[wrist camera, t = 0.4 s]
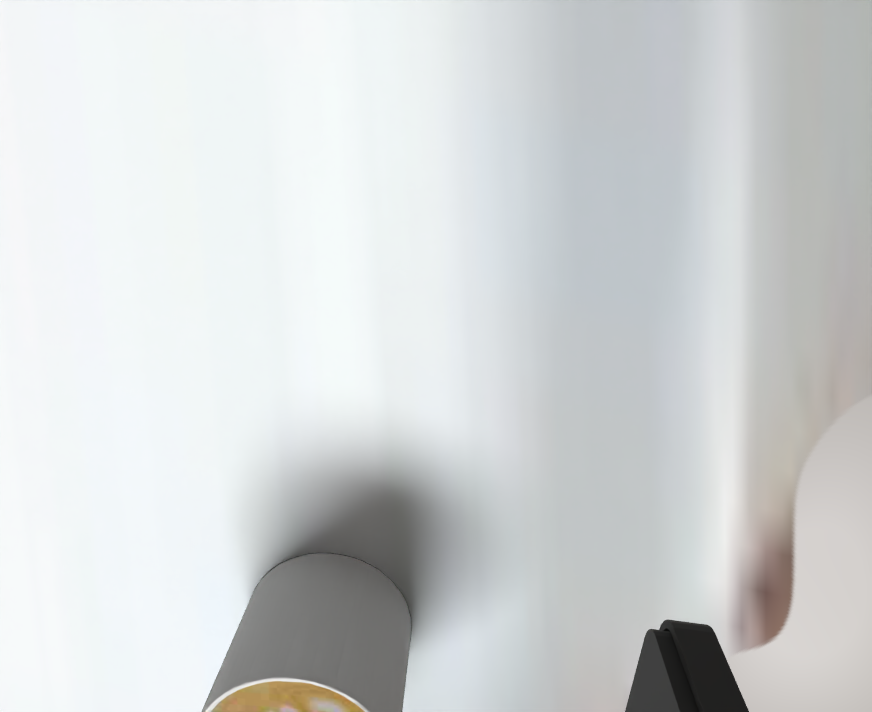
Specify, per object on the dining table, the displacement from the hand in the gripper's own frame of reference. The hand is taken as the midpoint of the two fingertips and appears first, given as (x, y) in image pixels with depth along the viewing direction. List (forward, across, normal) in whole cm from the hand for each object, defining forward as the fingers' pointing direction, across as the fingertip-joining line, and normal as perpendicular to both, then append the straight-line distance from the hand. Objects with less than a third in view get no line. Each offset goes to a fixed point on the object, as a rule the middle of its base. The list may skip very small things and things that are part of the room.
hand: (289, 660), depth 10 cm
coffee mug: (+30, +3, +26) cm, 40 cm away
